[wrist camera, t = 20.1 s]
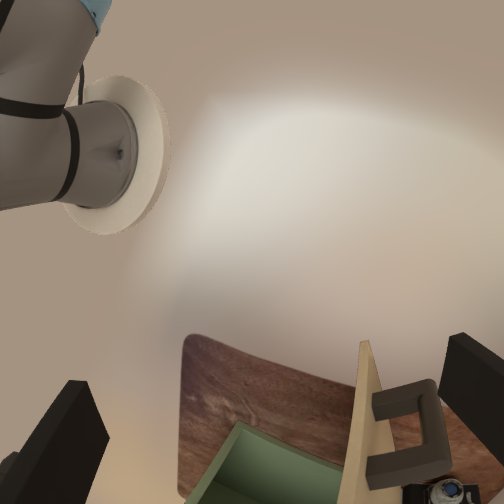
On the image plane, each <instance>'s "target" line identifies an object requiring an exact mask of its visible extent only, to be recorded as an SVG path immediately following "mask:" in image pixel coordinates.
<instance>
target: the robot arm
mask: <svg viewBox="0 0 504 504" xmlns="http://www.w3.org/2000/svg"><path fill="white" fill-rule="evenodd" d="M111 2H112V0H0V211H2V210H7V209H13V208H18V207H23V206H29V205H35V204H40V203H46V202H53V201H59V202H63V203H69V204H74V205H76V206H78V207H77V208H80V207H81V208H80V209H85V210H89V209H98V208H103V207H107V206H110V205H112V204H113V203H115V202H116V201H118V200H119V199H120V198H121V197H122V196H123V194H124V193H125V192H126V190H127V189H128V187H129V185H130V183H131V181H132V179H133V176H134V173H135V170H136V166H137V161H138V150H139V146H138V135H137V130H136V127H135V124H134V122H133V119H132V117H131V116H130V114H129V113H128V112H127V110H126V109H125V108H123V107H122V106H121V105H119V104H117V103H115V102H110V101H105V100H94V101H90V102H86V103H84V104H83V86H84V68H83V61H84V59H85V57H86V55H87V53H88V51H89V49H90V47H91V44H92V43H93V41H94V39H95V37H97V36H98V34H99V33H100V26H101V24H102V22H103V20H104V18H105V16H106V14H107V12H108V11H109V9H110V6H111ZM78 72H79V73H80V83H79V90H78V105H77V106H71V107H67V108H64V106H65V104H66V101H67V99H68V96H69V94H70V91H71V89H72V86H73V84H74V82H75V79H76V77H77V75H78ZM91 211H92V210H91ZM437 395H438V396H439V397H440V398H441V399H442V400H443V401H444V402H445V403H446V404H447V405H448V406H449V407H450V408H451V409H452V411H453V412H454V413H455V414H456V415H457V416H458V417H459V418H460V419H461V420H462V421H463V422H464V423H465V424H466V426H467V427H468V428H469V429H470V430H471V431H472V432H473V433H474V434H475V435H476V436H477V438H478V439H479V440H480V441H481V442H482V443H483V444H484V445H485V446H486V447H487V449H488V450H489V451H490V452H491V453H492V454H493V455H494V456H495V457H496V459H497V460H498V461H499V462H500V463H501V464H502V465H503V466H504V360H503V359H502V358H500V357H499V356H497V355H496V354H495V353H493V352H492V351H490V350H489V349H487V348H486V347H484V346H483V345H482V344H480V343H479V342H477V341H476V340H474V339H473V338H471V337H470V336H468V335H467V334H466V333H464V332H462V333H459V334H456V335H452V336H450V337H449V341H448V347H447V353H446V358H445V362H444V368H443V372H442V376H441V381H440V385H439V389H438V393H437ZM109 439H110V437H109V435H108V433H107V430H106V428H105V426H104V423H103V421H102V419H101V416H100V414H99V412H98V409H97V407H96V404H95V402H94V399H93V396H92V394H91V391H90V388H89V386H88V383H87V381H75V380H69V381H68V382H67V384H66V385H65V386H64V388H63V389H62V390H61V392H60V394H59V395H58V396H57V397H56V399H55V400H54V402H53V403H52V405H51V406H50V408H49V409H48V410H47V412H46V413H45V415H44V417H43V418H42V419H41V420H40V422H39V424H38V425H37V426H36V428H35V429H34V431H33V433H32V434H31V435H30V437H29V438H28V440H27V441H26V443H25V445H24V446H23V448H22V449H21V451H20V452H19V453H18V452H13V453H11V454H10V455H9V456H7V457H6V458H5V459H4V460H3V461H2V462H1V464H0V504H85V503H86V500H87V497H88V494H89V491H90V489H91V486H92V483H93V480H94V478H95V475H96V472H97V470H98V467H99V465H100V462H101V459H102V457H103V454H104V452H105V449H106V446H107V444H108V442H109Z"/></svg>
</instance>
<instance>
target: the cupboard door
mask: <svg viewBox="0 0 504 504" xmlns="http://www.w3.org/2000/svg"><path fill="white" fill-rule="evenodd" d="M437 393H438V389H437V386H436V382H435V381H434V380H432V379H425V380H421V381H418V382H414V383H411V384H407V385H403V386H400V387H396V388H392V389H388V390H384V391H382V389H381V384H380V380H379V377H378V373H377V369H376V365H375V361H374V358H373V354H372V350H371V347H370V343H369V340H366V341H363V342H360V349H359V361H358V372H357V381H356V391H355V399H354V407H353V415H352V422H351V429H350V435H349V442H348V448H347V454H346V459H345V465H344V470H343V476H342V481H341V486H340V490H339V495H338V500H337V504H400V493H401V485H406V484H411V483H416V482H420V481H424V480H428V479H433V478H436V477H440V476H443V475H445V474H446V473H448V472H449V471H450V470H451V468H452V459H451V453H450V447H449V441H448V436H447V430H446V425H445V420H444V415H443V411H442V406H441V402H440V397H439V396H438V395H437ZM415 412H419V418H420V427H421V437H422V445H420V446H416V447H412V448H407V449H403V450H398V451H395V447H394V442H393V437H392V432H391V428H390V423H389V419H391V418H395V417H400V416H404V415H408V414H412V413H415Z"/></svg>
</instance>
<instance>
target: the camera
mask: <svg viewBox="0 0 504 504" xmlns="http://www.w3.org/2000/svg"><path fill="white" fill-rule="evenodd" d="M400 504H481V500H480V493H479V487H478V484H461V483H460V482H459V481H458V480H456V479H446V480H441V481H439V482H438V483H436V484H424V483H411V484H407V485H406V486H404V487H403V488H402V489H401V493H400Z"/></svg>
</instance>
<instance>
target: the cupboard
mask: <svg viewBox="0 0 504 504" xmlns="http://www.w3.org/2000/svg"><path fill="white" fill-rule="evenodd" d="M343 470H344V467H342V466H339V465H337V464H334V463H332V462H329V461H326V460H324V459H321V458H319V457H316V456H314V455H312V454H309V453H307V452H305V451H302V450H300V449H298V448H295V447H293V446H291V445H289V444H286V443H284V442H282V441H280V440H278V439H276V438H273V437H271V436H269V435H267V434H265V433H263V432H261V431H259V430H257V429H255V428H253V427H251V426H249V425H247V424H245V423H243V422H241V421H239V420H238V421H237V423H236V424H235V426H234V428H233V429H232V431H231V433H230V434H229V436H228V437H227V439H226V441H225V442H224V444H223V445H222V447H221V449H220V450H219V452H218V453H217V455H216V456H215V458H214V460H213V461H212V463H211V464H210V466H209V467H208V469H207V470H206V472H205V473H204V475H203V476H202V478H201V479H200V481H199V482H198V484H197V485H196V487H195V488H194V490H193V491H192V493H191V494H190V496H189V497H188V499H187V500H186V502H185V503H184V504H337V500H338V495H339V490H340V486H341V481H342V476H343Z"/></svg>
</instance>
